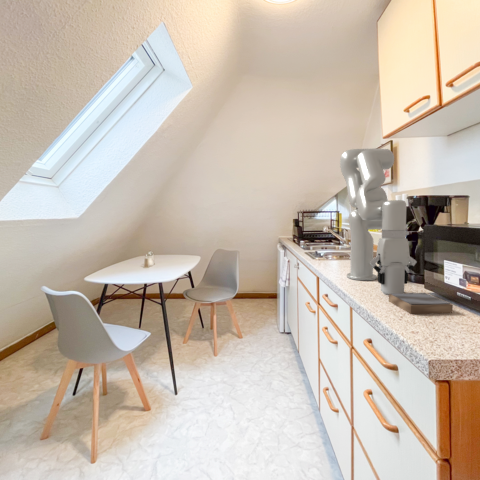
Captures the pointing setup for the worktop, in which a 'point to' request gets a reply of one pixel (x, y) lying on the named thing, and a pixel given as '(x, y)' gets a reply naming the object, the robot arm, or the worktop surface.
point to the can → (394, 279)
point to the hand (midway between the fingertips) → (392, 282)
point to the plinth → (420, 303)
